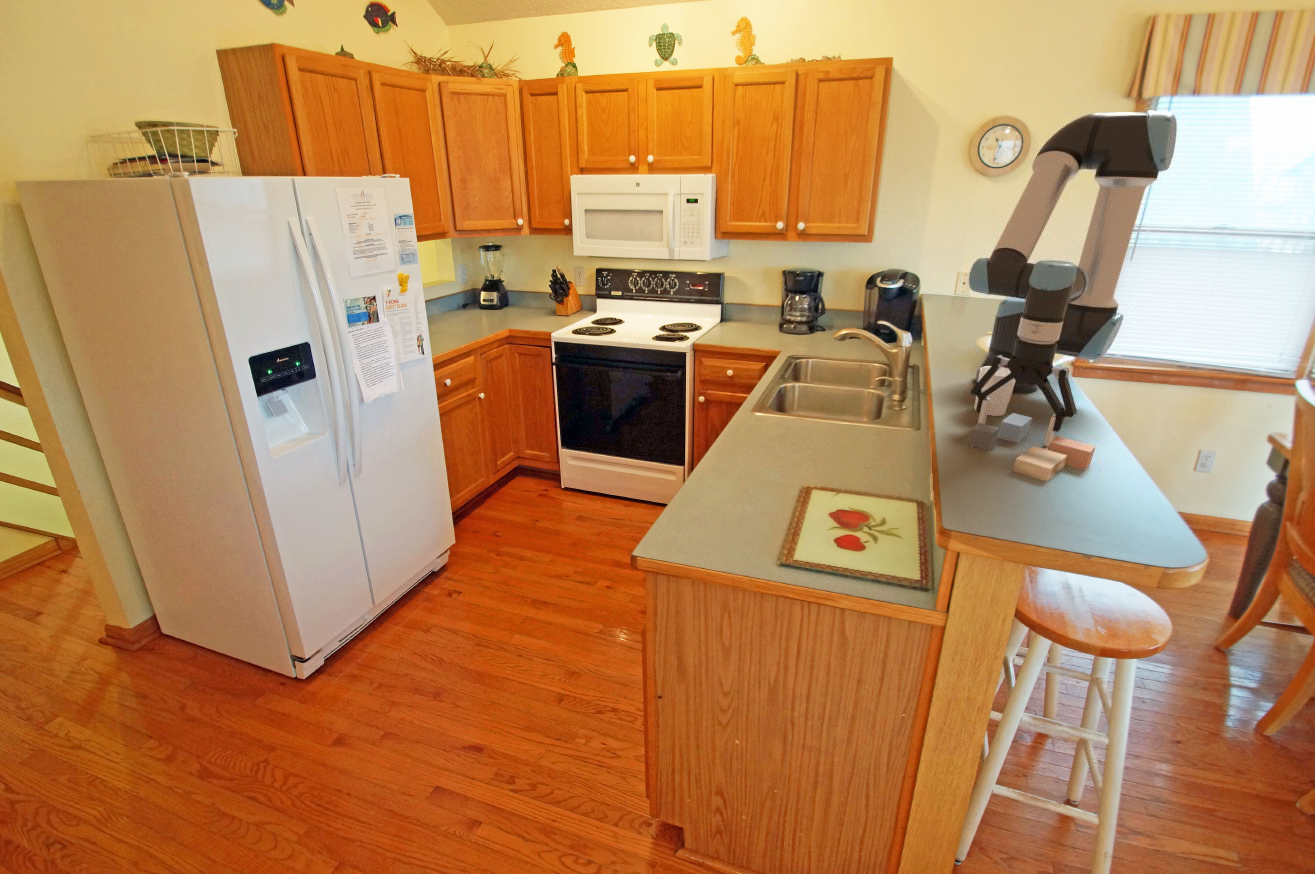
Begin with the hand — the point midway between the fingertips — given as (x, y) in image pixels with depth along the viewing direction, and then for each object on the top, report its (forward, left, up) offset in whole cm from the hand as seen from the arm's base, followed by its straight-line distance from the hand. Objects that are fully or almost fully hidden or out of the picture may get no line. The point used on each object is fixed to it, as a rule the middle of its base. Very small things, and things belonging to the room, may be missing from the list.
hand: (1012, 435), depth 140 cm
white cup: (-12, -9, 0) cm, 15 cm away
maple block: (+14, +9, -1) cm, 17 cm away
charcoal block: (+10, -3, 0) cm, 10 cm away
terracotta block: (+6, +12, 0) cm, 13 cm away
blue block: (0, 0, 0) cm, 0 cm away
